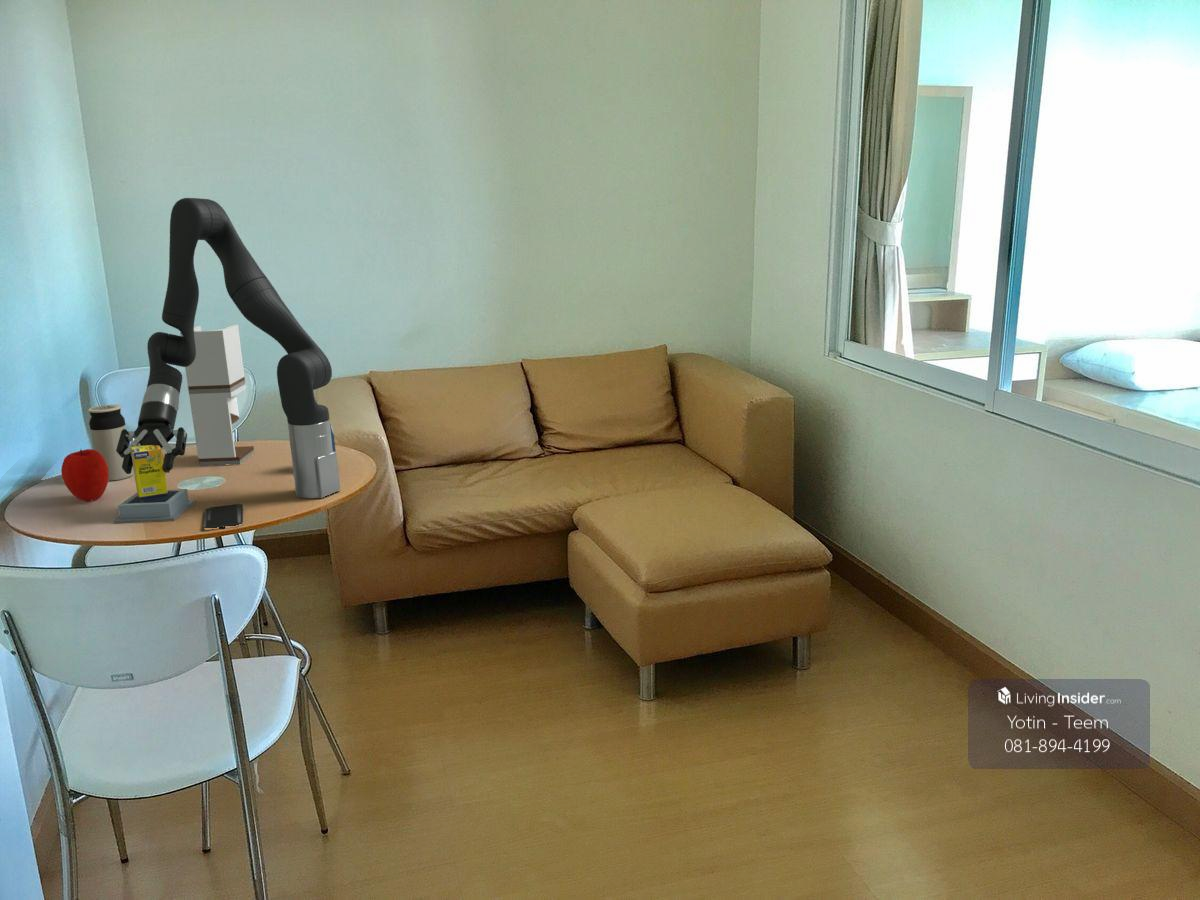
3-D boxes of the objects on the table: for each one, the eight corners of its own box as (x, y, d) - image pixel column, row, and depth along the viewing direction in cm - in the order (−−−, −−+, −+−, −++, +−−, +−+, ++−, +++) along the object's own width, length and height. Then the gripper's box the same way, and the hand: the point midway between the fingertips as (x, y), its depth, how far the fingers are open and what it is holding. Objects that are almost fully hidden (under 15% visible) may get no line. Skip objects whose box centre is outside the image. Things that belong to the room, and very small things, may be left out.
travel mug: (116, 482, 246) (105, 411, 241) (91, 480, 248) (79, 410, 243) (140, 473, 253) (129, 404, 248) (115, 472, 255) (104, 403, 251)
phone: (242, 503, 223) (242, 523, 209) (243, 508, 223) (243, 528, 209) (205, 507, 220) (202, 528, 207) (205, 512, 221) (203, 533, 207)
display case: (240, 464, 258) (222, 330, 249) (199, 466, 258) (180, 332, 249) (254, 453, 269) (237, 324, 260) (215, 454, 269) (197, 326, 260)
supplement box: (168, 496, 219) (161, 448, 216) (139, 501, 216) (131, 452, 213) (166, 489, 224) (158, 442, 221) (137, 494, 221) (129, 446, 218)
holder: (195, 502, 227) (193, 487, 226) (174, 520, 215) (171, 504, 214) (138, 504, 227) (136, 489, 226) (113, 523, 214) (110, 507, 213)
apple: (82, 493, 238) (73, 443, 235) (121, 492, 237) (113, 443, 234) (57, 506, 228) (48, 454, 225) (99, 505, 228) (90, 454, 224)
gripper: (120, 400, 222) (106, 464, 214) (185, 398, 222) (173, 462, 214) (134, 418, 228) (120, 481, 220) (197, 416, 228) (185, 478, 220)
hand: (146, 471), depth 217 cm, fingers closed on supplement box, 8 cm apart
